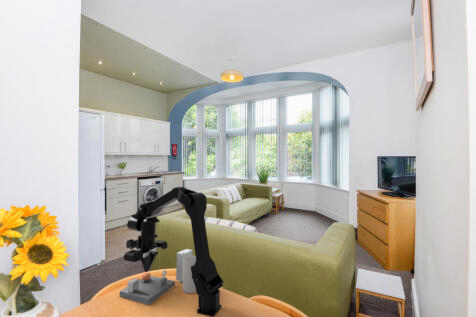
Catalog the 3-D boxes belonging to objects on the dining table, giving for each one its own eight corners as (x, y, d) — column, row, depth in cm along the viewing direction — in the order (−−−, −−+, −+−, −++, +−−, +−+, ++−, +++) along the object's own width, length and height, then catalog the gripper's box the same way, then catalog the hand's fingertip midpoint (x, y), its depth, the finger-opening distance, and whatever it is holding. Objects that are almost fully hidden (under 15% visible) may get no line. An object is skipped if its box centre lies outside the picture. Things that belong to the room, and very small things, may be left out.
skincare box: (185, 275, 100) (186, 248, 101) (192, 277, 98) (193, 249, 99) (175, 280, 95) (176, 252, 96) (182, 283, 93) (183, 254, 94)
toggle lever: (164, 283, 88) (168, 270, 88) (161, 286, 86) (165, 272, 86) (160, 281, 89) (165, 268, 89) (157, 283, 87) (161, 270, 87)
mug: (196, 294, 84) (197, 262, 85) (179, 293, 85) (180, 261, 86) (203, 281, 94) (203, 253, 95) (187, 281, 95) (188, 252, 96)
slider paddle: (138, 288, 83) (139, 279, 84) (132, 292, 81) (132, 282, 81) (133, 287, 84) (134, 278, 84) (127, 291, 81) (127, 281, 82)
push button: (152, 277, 91) (152, 273, 91) (146, 280, 88) (146, 276, 88) (146, 276, 92) (146, 272, 93) (140, 279, 89) (140, 275, 90)
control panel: (174, 286, 90) (175, 276, 91) (148, 305, 77) (149, 293, 77) (148, 279, 95) (148, 270, 96) (119, 296, 82) (120, 285, 82)
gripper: (149, 226, 103) (148, 260, 102) (114, 236, 86) (112, 277, 85) (168, 228, 99) (167, 264, 98) (136, 239, 82) (133, 282, 81)
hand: (146, 271), depth 91 cm, fingers closed
